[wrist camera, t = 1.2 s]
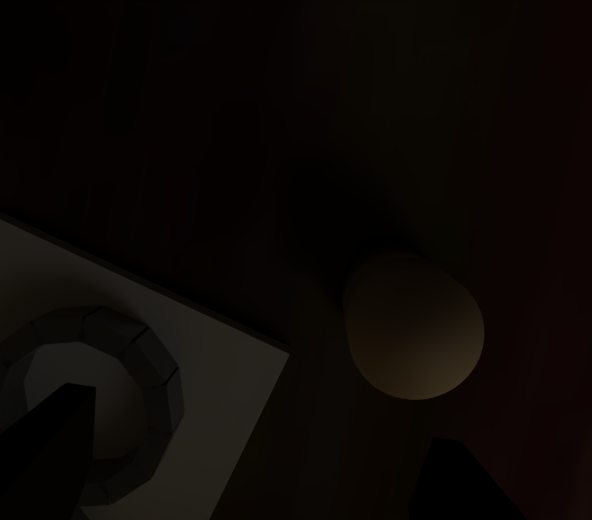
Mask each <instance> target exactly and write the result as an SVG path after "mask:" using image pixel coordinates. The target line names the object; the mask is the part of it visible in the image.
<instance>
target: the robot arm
mask: <svg viewBox="0 0 592 520" xmlns="http://www.w3.org/2000/svg"><path fill="white" fill-rule="evenodd" d="M95 401H96V387H92V386H85V385H79V384H72V383H65V384H64V385H62V386H60V387H59V388H58V389H57V390H55V391H54V392H53V393H52V394H50V395H49V396H48V397H47V398H46V399H44V400H43V401H42V402H41V403H39V404H38V405H37V406H36V407H34V408H33V409H32V410H31V411H29V412H28V413H27V414H26V415H24V416H23V417H22V418H21V419H19V420H18V421H17V422H15V423H14V424H13V425H12V426H10V427H9V428H8V429H6V430H5V431H4V432H2V433H1V434H0V520H70V519H71V517H72V515H73V513H74V511H75V508H76V506H77V503H78V501H79V498H80V495H81V493H82V490H83V487H84V485H85V482H86V479H87V476H88V474H89V471H90V468H91V465H92V462H93V442H94V421H95ZM408 510H409V519H410V520H527V519H526V518H525V517H524V515H523V514H522V513H521V512H520V511H519V510H518V508H517V507H516V506H515V505H514V504H513V503H512V501H511V500H510V499H509V498H508V497H507V496H506V494H505V493H504V492H503V491H502V490H501V488H500V487H499V486H498V485H497V484H496V482H495V481H494V480H493V479H492V478H491V476H490V475H489V474H488V473H487V472H486V470H485V469H484V468H483V467H482V466H481V464H480V463H479V462H478V461H477V460H476V458H475V457H474V456H473V455H472V454H471V452H470V451H469V450H468V449H467V448H466V447H465V446H464V444H463V443H462V442H461V441H457V440H450V439H443V438H436V437H433V439H432V442H431V445H430V447H429V450H428V453H427V456H426V458H425V461H424V464H423V467H422V469H421V472H420V475H419V478H418V480H417V483H416V486H415V489H414V491H413V494H412V497H411V500H410V502H409V505H408Z"/></svg>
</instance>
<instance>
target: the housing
mask: <svg viewBox="0 0 592 520" xmlns="http://www.w3.org/2000/svg"><path fill="white" fill-rule="evenodd" d="M290 349H291V347H290V346H288V345H286V344H283V343H281V342H279V341H277V340H275V339H273V338H271V337H268V336H266V335H264V334H262V333H260V332H258V331H256V330H253V329H251V328H249V327H247V326H245V325H243V324H241V323H238V322H236V321H234V320H232V319H230V318H228V317H226V316H223V315H221V314H219V313H217V312H215V311H213V310H211V309H208V308H206V307H204V306H202V305H200V304H198V303H195V302H193V301H191V300H189V299H187V298H185V297H183V296H180V295H178V294H176V293H174V292H172V291H170V290H168V289H165V288H163V287H161V286H159V285H157V284H155V283H153V282H150V281H148V280H146V279H144V278H142V277H140V276H138V275H135V274H133V273H131V272H129V271H127V270H125V269H123V268H120V267H118V266H116V265H114V264H112V263H110V262H108V261H105V260H103V259H101V258H99V257H97V256H95V255H92V254H90V253H88V252H86V251H84V250H82V249H80V248H77V247H75V246H73V245H71V244H69V243H67V242H65V241H62V240H60V239H58V238H56V237H54V236H52V235H50V234H47V233H45V232H43V231H41V230H39V229H37V228H35V227H32V226H30V225H28V224H26V223H24V222H22V221H20V220H17V219H15V218H13V217H11V216H9V215H7V214H4V213H2V212H0V434H1V433H2V432H4V431H5V430H6V429H8V428H9V427H10V426H12V425H13V424H14V423H15V422H17V421H18V420H19V419H21V418H22V417H23V416H24V415H26V414H27V413H28V412H29V411H31V410H32V409H33V408H34V407H36V406H37V405H38V404H39V403H41V402H42V401H43V400H44V399H46V398H47V397H48V396H49V395H50V394H52V393H53V392H54V391H55V390H57V389H58V388H59V387H60V386H62V385H64V384H65V383H72V384H79V385H85V386H92V387H96V401H95V421H94V442H93V462H92V465H91V468H90V471H89V474H88V476H87V479H86V482H85V485H84V487H83V490H82V493H81V495H80V498H79V501H78V503H77V506H76V508H75V511H74V513H73V515H72V517H71V519H70V520H209V519H210V517H211V514H212V512H213V510H214V508H215V506H216V504H217V502H218V500H219V498H220V496H221V494H222V492H223V490H224V488H225V486H226V484H227V482H228V480H229V478H230V476H231V473H232V471H233V469H234V467H235V465H236V463H237V461H238V459H239V457H240V455H241V453H242V451H243V449H244V447H245V445H246V443H247V441H248V439H249V437H250V435H251V432H252V430H253V428H254V426H255V424H256V422H257V420H258V418H259V416H260V414H261V412H262V410H263V408H264V406H265V404H266V402H267V400H268V398H269V396H270V394H271V391H272V389H273V387H274V385H275V383H276V381H277V379H278V377H279V375H280V373H281V371H282V369H283V367H284V365H285V363H286V361H287V359H288V357H289V355H290Z"/></svg>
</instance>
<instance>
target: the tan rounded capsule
mask: <svg viewBox="0 0 592 520" xmlns="http://www.w3.org/2000/svg"><path fill="white" fill-rule="evenodd" d="M342 306H343V312H344V318H345V324H346V330H347V336H348V341H349V347H350V351H351V355H352V358H353V360H354V362H355V365H356V366H357V368H358V370H359V371H360V373H361V374H362V375H363V376H364V377H365V379H366V380H368V381H369V382H370V383H371V384H372V385H373V386H375V387H376V388H377V389H379V390H381V391H383V392H385V393H387V394H389V395H392V396H395V397H399V398H403V399H427V398H431V397H435V396H438V395H441V394H444V393H446V392H448V391H449V390H451V389H453V388H454V387H456V386H457V385H459V384H460V383H461V382H462V381H463V380H464V379H465V378H466V377H467V376H468V375H469V374H470V373H471V371H472V370H473V368H474V367H475V365H476V363H477V361H478V359H479V357H480V354H481V351H482V348H483V342H484V324H483V319H482V315H481V312H480V310H479V307H478V305H477V303H476V302H475V300H474V298H473V297H472V296H471V294H470V293H469V292H468V291H467V290H466V289H465V288H464V287H463V286H462V285H461V284H460V283H458V282H457V281H456V280H454V279H453V278H452V277H451V276H449V275H448V274H447V273H445V272H444V271H443V270H441V269H440V268H439V267H437V266H436V265H435V264H434V263H432V262H431V261H430V260H428V259H427V258H426V257H424V256H423V255H422V254H420V253H418V252H417V251H415V250H412V249H410V248H406V247H401V246H386V247H380V248H377V249H374V250H372V251H369V252H368V253H366V254H364V255H363V256H362V257H360V258H359V259H358V260H357V261H356V262H355V263H354V264H353V265H352V267H351V268H350V269H349V271H348V273H347V275H346V277H345V279H344V283H343V286H342Z"/></svg>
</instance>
